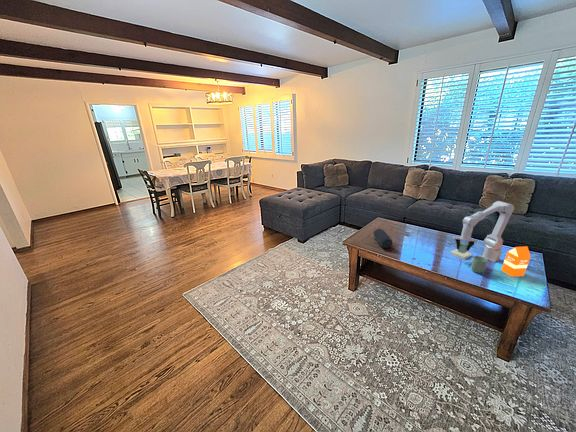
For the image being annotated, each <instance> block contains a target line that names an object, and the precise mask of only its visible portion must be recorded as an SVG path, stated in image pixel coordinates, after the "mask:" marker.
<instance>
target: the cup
mask: <svg viewBox="0 0 576 432" xmlns="http://www.w3.org/2000/svg"><path fill="white" fill-rule="evenodd" d="M471 260H472V261H471V264H470V265H471V266H470V267H471V271H473V272H474V273H477V274H481V273H484V271H485V270H486V268H487V264H488V261H489V260H488V259H486V258H484V257H481V255H475V256H473V257H472V259H471Z"/></svg>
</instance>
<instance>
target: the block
mask: <svg viewBox="0 0 576 432" xmlns="http://www.w3.org/2000/svg"><path fill="white" fill-rule="evenodd" d="M467 248H468V243H467V244H466V243H463V242H460V245H459V249H458V252H460V253H463V254H464V253H466V252H468V251H467Z"/></svg>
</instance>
